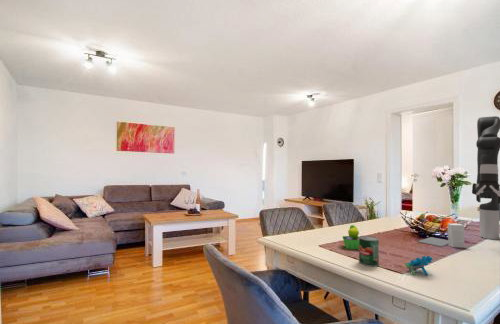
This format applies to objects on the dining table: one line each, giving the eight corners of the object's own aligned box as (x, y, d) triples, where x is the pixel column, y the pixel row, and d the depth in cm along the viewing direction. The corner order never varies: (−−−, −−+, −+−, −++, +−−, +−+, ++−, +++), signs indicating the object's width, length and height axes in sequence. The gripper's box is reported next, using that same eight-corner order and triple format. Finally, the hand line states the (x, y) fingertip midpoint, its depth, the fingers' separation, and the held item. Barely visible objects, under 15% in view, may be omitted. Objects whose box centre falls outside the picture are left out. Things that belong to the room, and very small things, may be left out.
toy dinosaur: (424, 264, 114) (434, 252, 107) (433, 278, 110) (444, 266, 103) (399, 268, 113) (408, 256, 106) (407, 282, 109) (417, 271, 102)
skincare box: (459, 245, 149) (459, 223, 150) (464, 247, 145) (464, 225, 145) (447, 245, 150) (447, 223, 150) (452, 247, 146) (452, 224, 146)
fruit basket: (343, 249, 140) (343, 227, 140) (342, 244, 149) (342, 223, 149) (367, 251, 137) (367, 228, 138) (364, 246, 146) (364, 225, 146)
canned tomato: (379, 262, 121) (379, 237, 121) (377, 267, 114) (377, 241, 114) (360, 259, 125) (360, 234, 125) (357, 264, 118) (357, 238, 118)
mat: (431, 237, 166) (431, 237, 166) (454, 242, 156) (454, 241, 157) (417, 241, 156) (417, 241, 156) (441, 247, 146) (441, 246, 146)
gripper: (508, 173, 146) (508, 204, 144) (475, 173, 157) (474, 202, 156) (504, 172, 141) (504, 204, 140) (470, 172, 153) (470, 201, 152)
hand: (489, 203), depth 148 cm, fingers open, 8 cm apart
